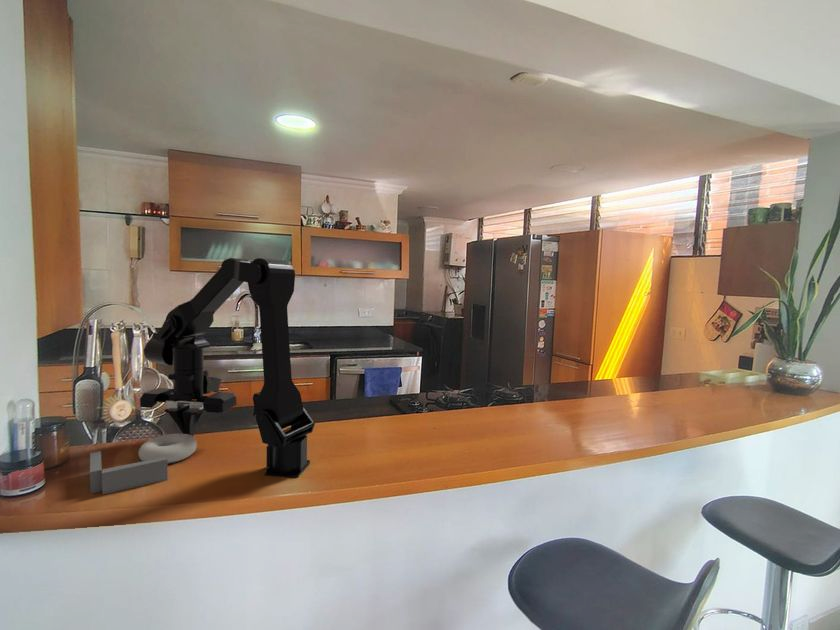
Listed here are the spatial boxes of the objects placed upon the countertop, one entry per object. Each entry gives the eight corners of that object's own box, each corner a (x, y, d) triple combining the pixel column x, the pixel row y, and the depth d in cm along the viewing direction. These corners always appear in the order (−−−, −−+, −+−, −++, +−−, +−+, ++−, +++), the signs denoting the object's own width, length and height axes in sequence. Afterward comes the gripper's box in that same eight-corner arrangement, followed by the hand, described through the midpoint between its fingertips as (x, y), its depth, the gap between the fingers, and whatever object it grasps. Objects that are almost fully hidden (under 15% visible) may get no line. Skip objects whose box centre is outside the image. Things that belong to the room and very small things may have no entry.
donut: (205, 438, 81) (149, 455, 73) (206, 455, 82) (150, 473, 74) (184, 426, 87) (130, 440, 80) (185, 442, 88) (131, 457, 80)
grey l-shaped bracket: (172, 478, 72) (171, 456, 72) (138, 500, 65) (138, 476, 64) (96, 471, 73) (95, 450, 73) (55, 492, 66) (54, 469, 66)
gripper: (249, 362, 93) (249, 428, 94) (175, 358, 95) (176, 422, 96) (220, 373, 82) (221, 447, 83) (136, 368, 84) (138, 440, 85)
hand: (189, 438), depth 87 cm, fingers closed
